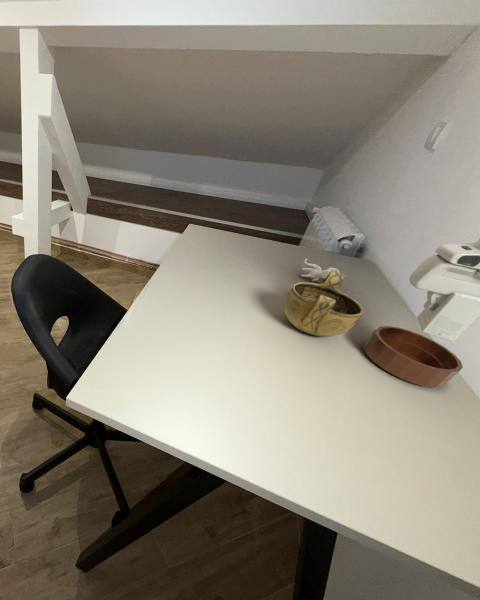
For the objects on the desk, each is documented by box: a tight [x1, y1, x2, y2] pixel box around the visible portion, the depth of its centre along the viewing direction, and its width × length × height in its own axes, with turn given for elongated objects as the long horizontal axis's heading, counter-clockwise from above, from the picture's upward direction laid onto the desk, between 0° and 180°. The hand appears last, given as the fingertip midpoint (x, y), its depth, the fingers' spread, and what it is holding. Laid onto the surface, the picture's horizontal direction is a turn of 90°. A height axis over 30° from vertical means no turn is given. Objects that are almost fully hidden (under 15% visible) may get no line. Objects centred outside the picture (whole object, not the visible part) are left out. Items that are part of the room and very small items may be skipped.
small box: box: [416, 293, 480, 342], centre depth 71 cm, size 8×6×10 cm
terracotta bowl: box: [362, 325, 464, 389], centre depth 79 cm, size 17×17×6 cm
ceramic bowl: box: [283, 271, 364, 338], centre depth 87 cm, size 22×17×15 cm
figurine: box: [300, 258, 341, 282], centre depth 117 cm, size 8×9×12 cm
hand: (447, 313), depth 72 cm, fingers closed on small box, 6 cm apart
